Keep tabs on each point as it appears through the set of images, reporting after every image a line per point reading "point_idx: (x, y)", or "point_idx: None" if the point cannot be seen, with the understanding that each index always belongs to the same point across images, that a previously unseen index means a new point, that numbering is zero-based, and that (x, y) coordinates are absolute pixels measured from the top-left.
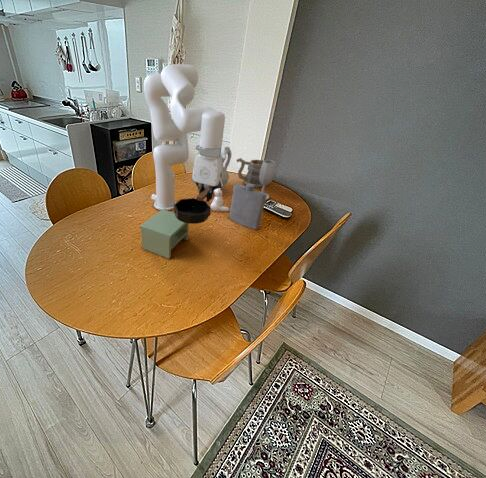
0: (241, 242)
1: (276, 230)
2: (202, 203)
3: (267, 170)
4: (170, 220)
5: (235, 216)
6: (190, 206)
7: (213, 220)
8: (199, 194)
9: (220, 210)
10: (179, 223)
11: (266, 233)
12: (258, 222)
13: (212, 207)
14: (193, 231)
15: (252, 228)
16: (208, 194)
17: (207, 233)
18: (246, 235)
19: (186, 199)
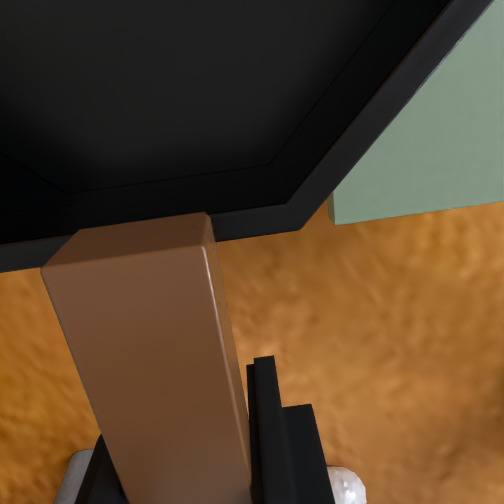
0: (55, 328)
1: (4, 495)
2: (67, 217)
3: None
4: (470, 63)
5: None
6: (290, 118)
7: (287, 400)
8: (213, 369)
9: None
10: None
11: (20, 454)
12: (57, 493)
13: (344, 478)
14: (320, 256)
15: (91, 450)
16: (94, 485)
17: (245, 288)
18: (77, 390)
19: (407, 52)
